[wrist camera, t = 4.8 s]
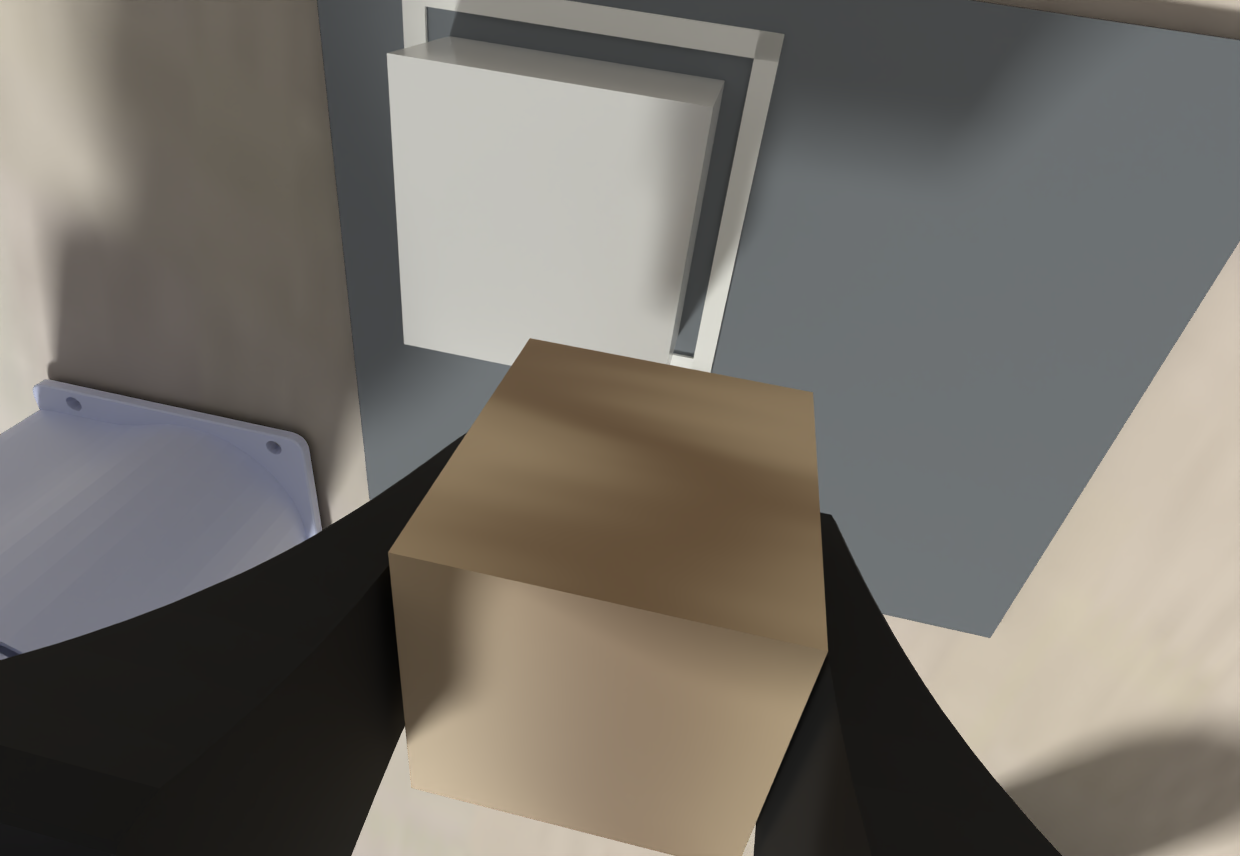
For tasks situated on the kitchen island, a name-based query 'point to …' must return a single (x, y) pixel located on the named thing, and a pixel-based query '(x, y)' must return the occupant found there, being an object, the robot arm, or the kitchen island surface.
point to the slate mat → (869, 247)
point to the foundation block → (545, 198)
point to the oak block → (615, 600)
